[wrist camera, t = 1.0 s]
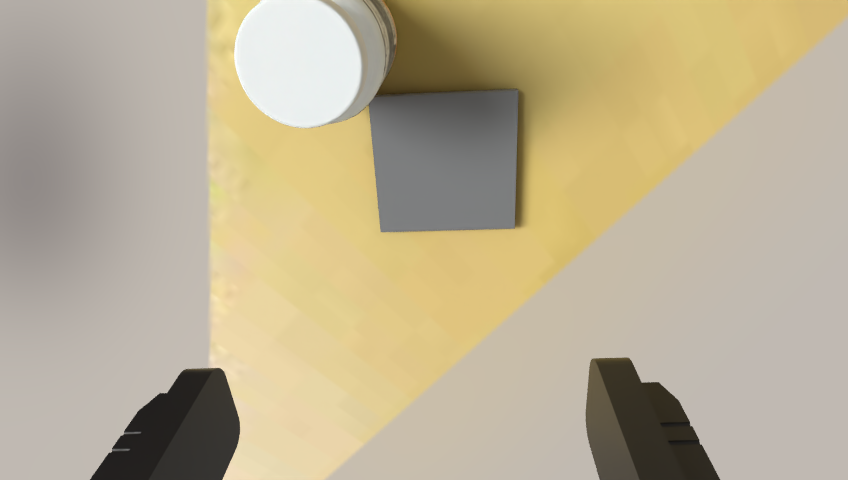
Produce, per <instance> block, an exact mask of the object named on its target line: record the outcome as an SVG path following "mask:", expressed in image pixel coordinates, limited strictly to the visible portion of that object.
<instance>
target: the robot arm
mask: <svg viewBox="0 0 848 480" xmlns="http://www.w3.org/2000/svg"><path fill="white" fill-rule="evenodd" d="M586 428H587V435H588V440H589V444H590V448H591V451H592V454H593V458H594V461H595V465H596V468H597V472H598V475H599V478H600V480H720V479H719V477H718V475H717V473H716V471H715V469H714V467H713V465H712V463H711V461H710V460H709V458H708V456H707V454H706V452H705V450H704V448H703V446H702V445H700V443H699V439H698V437H697V435H696V433H695V431H694V429H693V427H692V426H690V421H689V419H688V418H687V416H686V414H685V412H684V410H683V408H682V406H681V404H680V402H679V401H678V400H677V399H676V398H675V397H674V396H673V395H672V394H671V393H670V392H668V391H667V390H666V389H665V388H664V387H663V386H662V385H661V384H660V383H659V382H651V383H641V381H640V379H639V376H638V374H637V372H636V370H635V367H634V365H633V363H632V361H631V360H630V359H629V358H599V359H592V360H591V362H590V369H589V382H588V393H587V404H586ZM239 434H240V422H239V417H238V414H237V410H236V407H235V404H234V401H233V398H232V395H231V391H230V388H229V385H228V382H227V379H226V376H225V373H224V371H223V370H222V369H220V368H204V369H186V370H183V371H182V372H181V373H180V375H179V376H178V378H177V379H176V381H175V382H174V384H173V385H172V387H171V388H170V390H169V391H168V393H165V394H164V393H160V394H159V395H157V396H156V397H155V398H154V399H153V400H151V401H150V402H149V403H148V404H147V405H145V406H144V407H143V408H142V409H140V410H139V411H138V412H137V414H136V415H135V417H134V418H133V419H132V421H131V422H130V424H129V425H128V427H127V428H126V429H125V431H124V435H123V436H120V438H119V439H118V441H117V442H116V444H115V445H114V446H113V448H112V452H111V453H109V454H108V455H107V456H106V458H105V459H104V461H103V462H102V463H101V465H100V466H99V468H98V469H97V471H96V472H95V474H94V475H93V476H92V478H91V479H90V480H222V479H223V477H224V474H225V472H226V470H227V468H228V465H229V463H230V461H231V459H232V457H233V454H234V452H235V450H236V447H237V444H238V440H239Z"/></svg>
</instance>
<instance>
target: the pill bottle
mask: <svg viewBox="0 0 848 480" xmlns="http://www.w3.org/2000/svg"><path fill="white" fill-rule="evenodd" d="M396 49H397V33H396V27H395V23H394V20H393V17H392V15H391V13H390V11H389V9H388V7H387V5H386V4H385V3H384V1H383V0H261V1H260V3H259V4H258V5H256V6H255V7H254V8H253V9H252V10H251V11H250V12H249V13H248V15H247V16H246V17H245V19H244V21H243V22H242V24H241V26H240V28H239V31H238V34H237V37H236V42H235V65H236V70H237V74H238V77H239V80H240V82H241V85H242V87H243V89H244V91H245V92H246V94H247V95H248V97H249V98H250V100H251V101H252V102H253V103H254V104H255V105H256V106H257V107H258V108H259V109H260V110H261V111H262V112H263V113H265V114H266V115H267V116H269V117H270V118H272V119H274V120H276V121H278V122H280V123H282V124H285V125H288V126H292V127H297V128H313V127H320V126H323V125H326V124H332V123H337V122H341V121H344V120H347V119H349V118H351V117H354V116H356V115H357V114H358V113H360V112H361V111H362V110H363V109H364V108H365V107H366V106H368V104H369V103H370V102H371V101H372V99H373V98H374V97H375V95H376V93H377V92H378V90H379V88H380V86H381V84H382V83H383V81H384V79H385V78H386V76H387V74H388V73H389V71H390V69H391V67H392V64H393V61H394V58H395V54H396Z"/></svg>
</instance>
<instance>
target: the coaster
mask: <svg viewBox="0 0 848 480" xmlns="http://www.w3.org/2000/svg"><path fill="white" fill-rule="evenodd" d="M369 113H370V123H371V134H372V144H373V155H374V165H375V176H376V187H377V197H378V208H379V218H380V229H381V232H404V231H441V230H477V229H513V228H515V198H516V161H517V124H518V89H501V90H478V91H455V92H431V93H408V94H385V95H375V97H374V98H373V99H372V101H371V102H370V103H369Z"/></svg>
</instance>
